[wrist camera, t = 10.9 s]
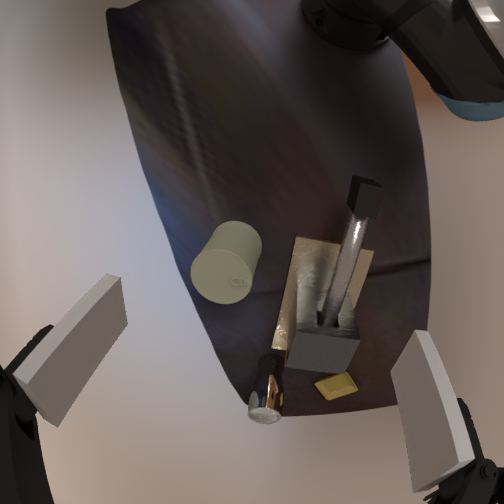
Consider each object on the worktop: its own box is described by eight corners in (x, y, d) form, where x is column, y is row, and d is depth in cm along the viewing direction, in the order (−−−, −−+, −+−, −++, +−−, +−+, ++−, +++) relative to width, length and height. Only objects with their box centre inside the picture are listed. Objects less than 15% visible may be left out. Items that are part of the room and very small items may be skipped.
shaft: (352, 175, 36) (360, 182, 31) (373, 179, 36) (383, 188, 31) (310, 331, 48) (310, 351, 43) (326, 333, 48) (328, 354, 43)
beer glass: (251, 358, 63) (239, 410, 50) (277, 349, 61) (270, 404, 47) (266, 375, 65) (258, 426, 52) (292, 367, 63) (288, 420, 49)
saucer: (327, 394, 66) (327, 401, 65) (313, 377, 64) (313, 384, 62) (358, 384, 63) (358, 390, 62) (346, 365, 61) (347, 372, 59)
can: (260, 270, 53) (250, 310, 42) (211, 265, 54) (190, 301, 43) (263, 223, 49) (253, 254, 38) (210, 218, 50) (187, 247, 39)
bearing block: (296, 234, 49) (295, 276, 36) (373, 248, 48) (394, 292, 35) (271, 344, 60) (264, 395, 48) (333, 353, 59) (337, 404, 47)
